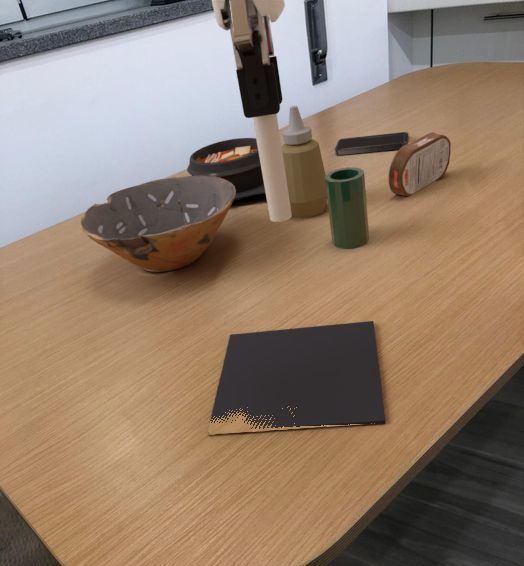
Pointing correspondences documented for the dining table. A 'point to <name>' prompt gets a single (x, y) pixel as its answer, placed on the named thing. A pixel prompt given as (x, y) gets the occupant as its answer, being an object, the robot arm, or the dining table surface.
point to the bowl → (161, 220)
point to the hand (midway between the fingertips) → (264, 108)
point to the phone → (371, 143)
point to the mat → (302, 377)
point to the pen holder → (347, 207)
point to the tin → (419, 164)
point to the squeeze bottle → (303, 169)
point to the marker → (272, 167)
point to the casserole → (231, 165)
